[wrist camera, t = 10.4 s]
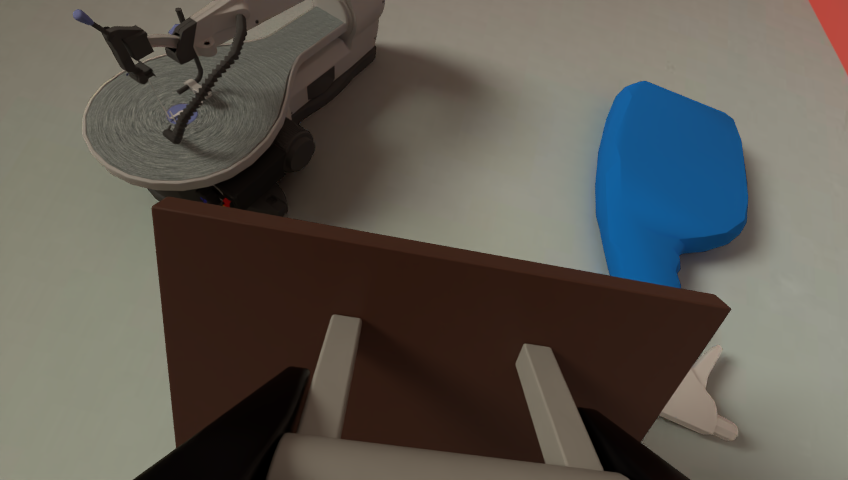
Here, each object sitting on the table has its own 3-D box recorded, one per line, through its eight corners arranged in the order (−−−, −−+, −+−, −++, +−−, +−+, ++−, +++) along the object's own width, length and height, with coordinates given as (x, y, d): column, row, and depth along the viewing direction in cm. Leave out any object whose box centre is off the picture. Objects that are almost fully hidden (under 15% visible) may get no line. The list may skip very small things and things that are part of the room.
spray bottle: (623, 68, 31) (576, 370, 20) (753, 120, 31) (784, 455, 20) (602, 97, 34) (549, 379, 22) (721, 145, 34) (732, 453, 22)
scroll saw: (290, -165, 23) (457, -76, 22) (304, 10, 32) (422, 81, 31) (-117, -39, 13) (138, 135, 12) (68, 160, 23) (225, 272, 21)
